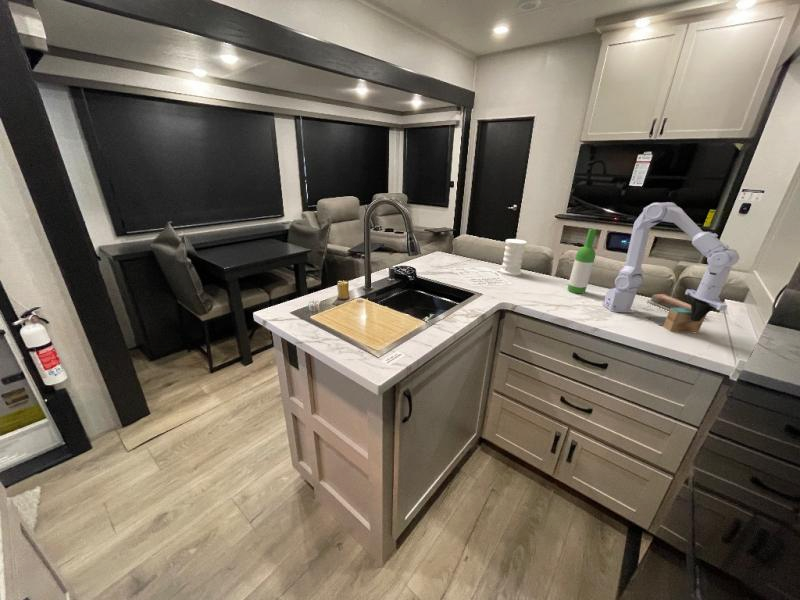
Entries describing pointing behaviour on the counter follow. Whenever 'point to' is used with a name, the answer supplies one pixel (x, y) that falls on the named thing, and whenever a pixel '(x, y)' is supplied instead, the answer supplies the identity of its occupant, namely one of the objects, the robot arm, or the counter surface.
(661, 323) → the rubber mat
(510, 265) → the decorative container
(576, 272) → the wine bottle
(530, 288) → the counter surface
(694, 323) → the brown box
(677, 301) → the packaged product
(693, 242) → the robot arm
